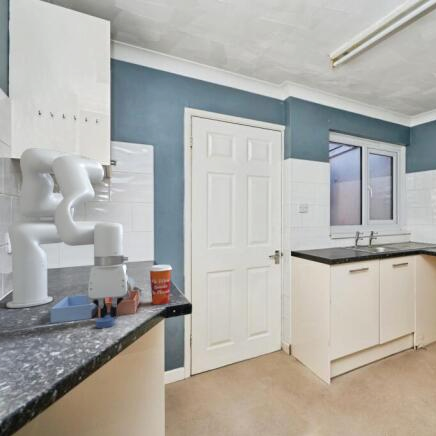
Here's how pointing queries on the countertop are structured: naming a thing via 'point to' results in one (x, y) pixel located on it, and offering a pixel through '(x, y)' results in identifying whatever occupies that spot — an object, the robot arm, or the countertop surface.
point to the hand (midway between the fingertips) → (108, 318)
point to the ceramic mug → (132, 285)
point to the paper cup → (160, 283)
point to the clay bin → (124, 304)
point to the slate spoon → (105, 321)
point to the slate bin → (73, 309)
